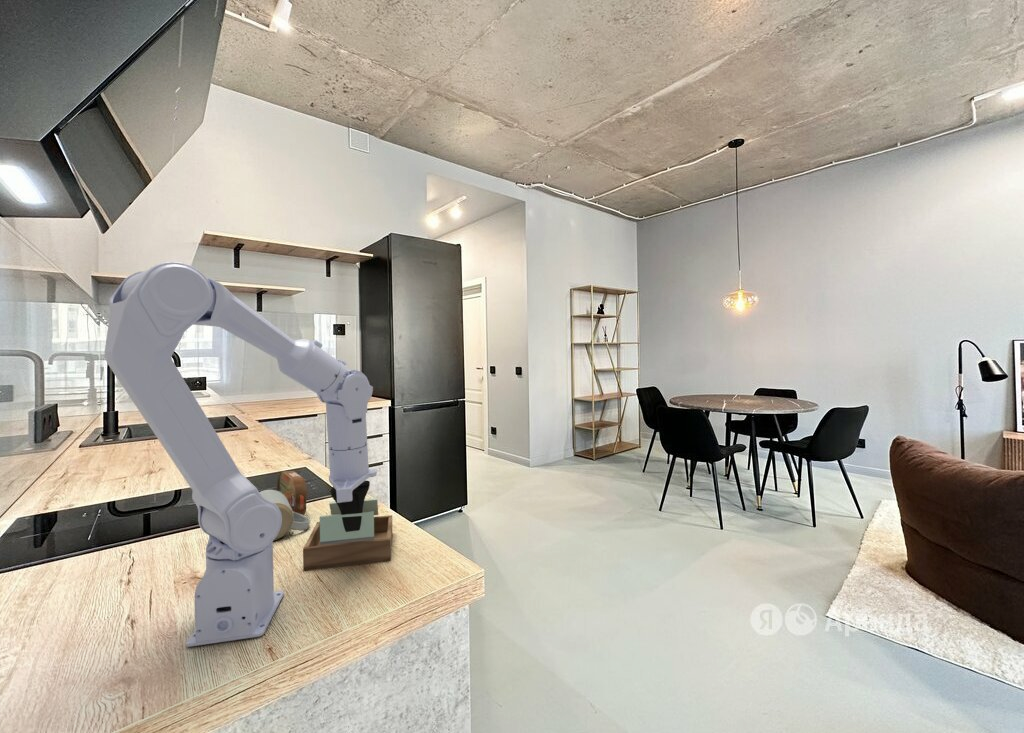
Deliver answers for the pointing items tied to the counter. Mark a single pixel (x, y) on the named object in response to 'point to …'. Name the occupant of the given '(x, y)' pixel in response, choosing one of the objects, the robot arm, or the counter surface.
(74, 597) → the counter surface
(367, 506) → the flap far
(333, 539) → the flap near
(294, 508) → the tin
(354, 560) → the crate
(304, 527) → the ceramic mug
